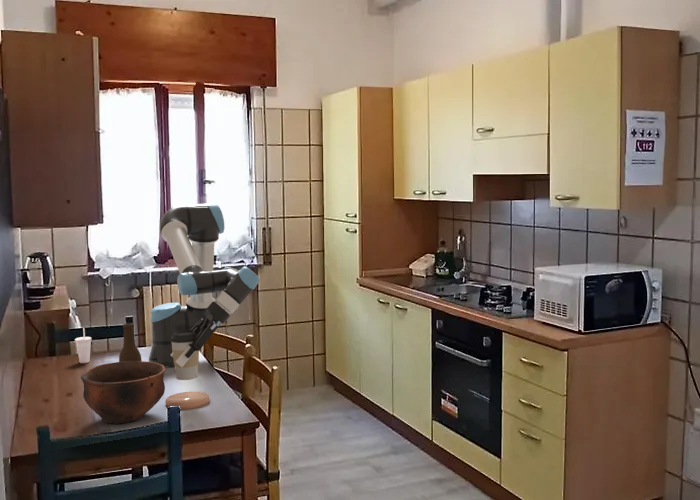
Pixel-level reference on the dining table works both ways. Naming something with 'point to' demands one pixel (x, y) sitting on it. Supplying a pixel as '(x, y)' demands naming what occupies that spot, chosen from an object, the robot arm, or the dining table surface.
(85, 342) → the smoothie
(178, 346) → the coffee cup
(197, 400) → the saucer
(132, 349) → the beer bottle
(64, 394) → the dining table surface
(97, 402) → the bowl
